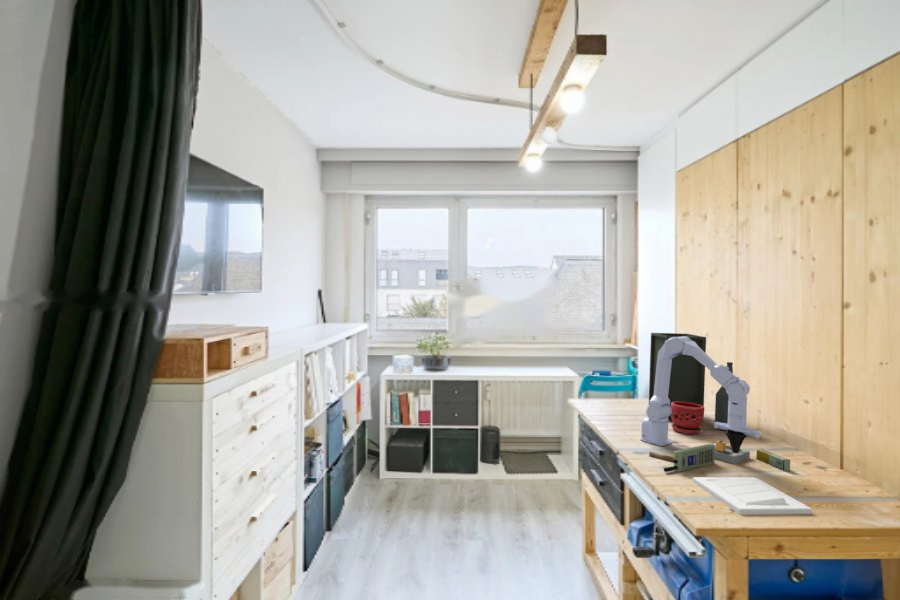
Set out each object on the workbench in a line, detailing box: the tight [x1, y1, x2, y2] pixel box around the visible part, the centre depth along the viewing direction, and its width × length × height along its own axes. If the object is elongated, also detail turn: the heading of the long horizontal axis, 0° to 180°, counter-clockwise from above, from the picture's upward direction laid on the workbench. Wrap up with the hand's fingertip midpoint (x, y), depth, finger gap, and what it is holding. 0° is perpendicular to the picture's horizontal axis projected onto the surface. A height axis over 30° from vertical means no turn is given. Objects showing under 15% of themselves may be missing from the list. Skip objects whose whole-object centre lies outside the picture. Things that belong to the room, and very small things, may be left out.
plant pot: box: [671, 402, 705, 435], centre depth 212 cm, size 13×13×12 cm
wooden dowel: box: [648, 451, 674, 463], centre depth 175 cm, size 10×2×2 cm
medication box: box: [755, 448, 791, 472], centre depth 172 cm, size 12×3×4 cm, turn 11°
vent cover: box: [692, 476, 813, 515], centre depth 144 cm, size 23×3×21 cm
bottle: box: [714, 361, 734, 432], centre depth 217 cm, size 10×10×30 cm
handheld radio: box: [663, 443, 715, 473], centre depth 167 cm, size 7×3×25 cm
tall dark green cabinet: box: [648, 332, 707, 422], centre depth 237 cm, size 18×18×40 cm
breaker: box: [715, 440, 727, 452], centre depth 178 cm, size 2×2×3 cm
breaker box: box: [711, 442, 751, 465], centre depth 180 cm, size 12×12×3 cm
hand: (735, 452), depth 173 cm, fingers closed
